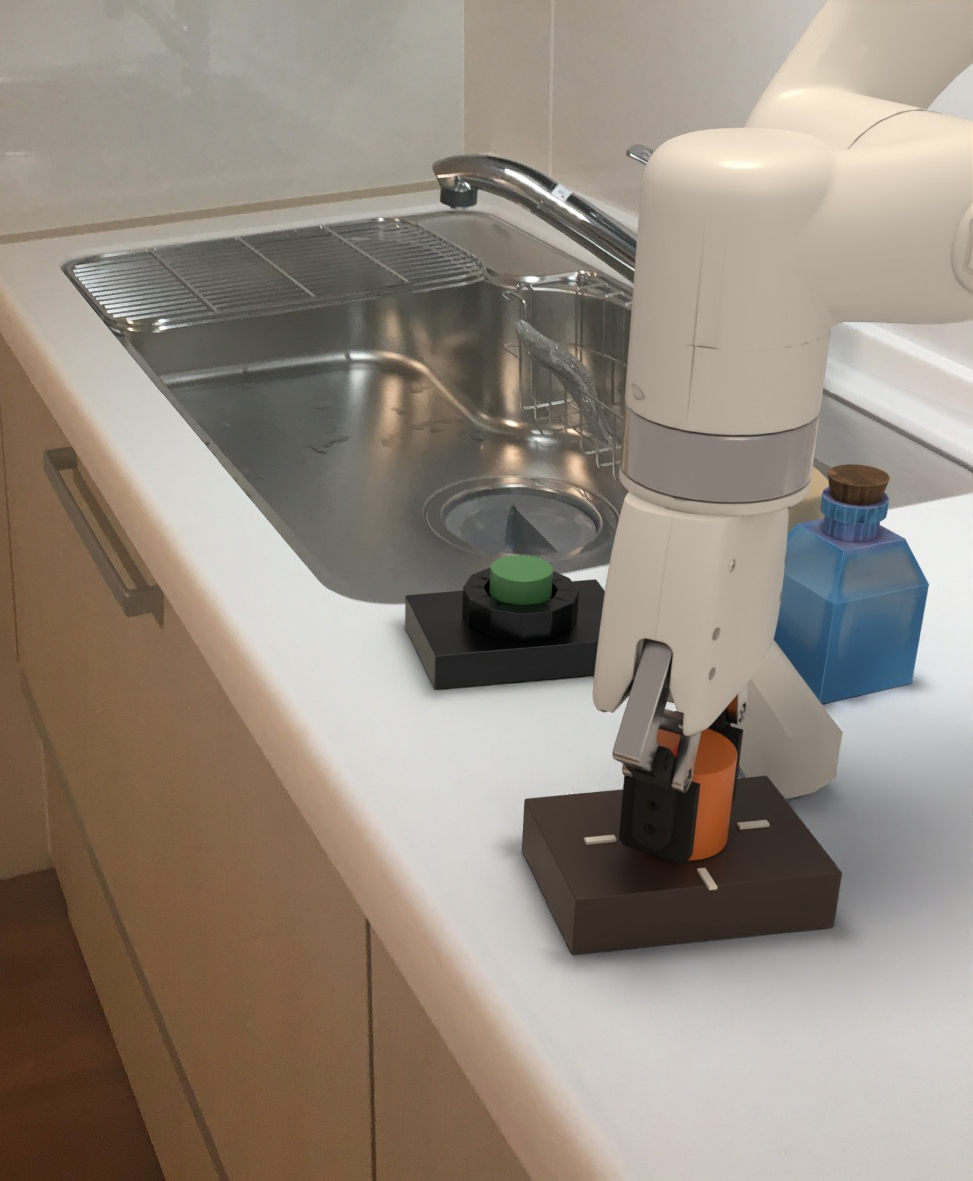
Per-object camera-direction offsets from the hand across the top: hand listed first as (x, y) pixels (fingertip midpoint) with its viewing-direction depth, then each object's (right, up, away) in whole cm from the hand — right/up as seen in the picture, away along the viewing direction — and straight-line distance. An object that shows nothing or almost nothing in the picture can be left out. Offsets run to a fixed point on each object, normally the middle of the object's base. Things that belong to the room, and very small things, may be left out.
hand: (677, 819), depth 73 cm
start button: (-3, +10, +21) cm, 24 cm away
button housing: (-3, +7, +23) cm, 24 cm away
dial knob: (0, -1, 0) cm, 1 cm away
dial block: (0, -3, +2) cm, 4 cm away
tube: (+7, +5, +18) cm, 20 cm away
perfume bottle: (+14, +6, +20) cm, 25 cm away
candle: (+13, +9, +26) cm, 31 cm away
